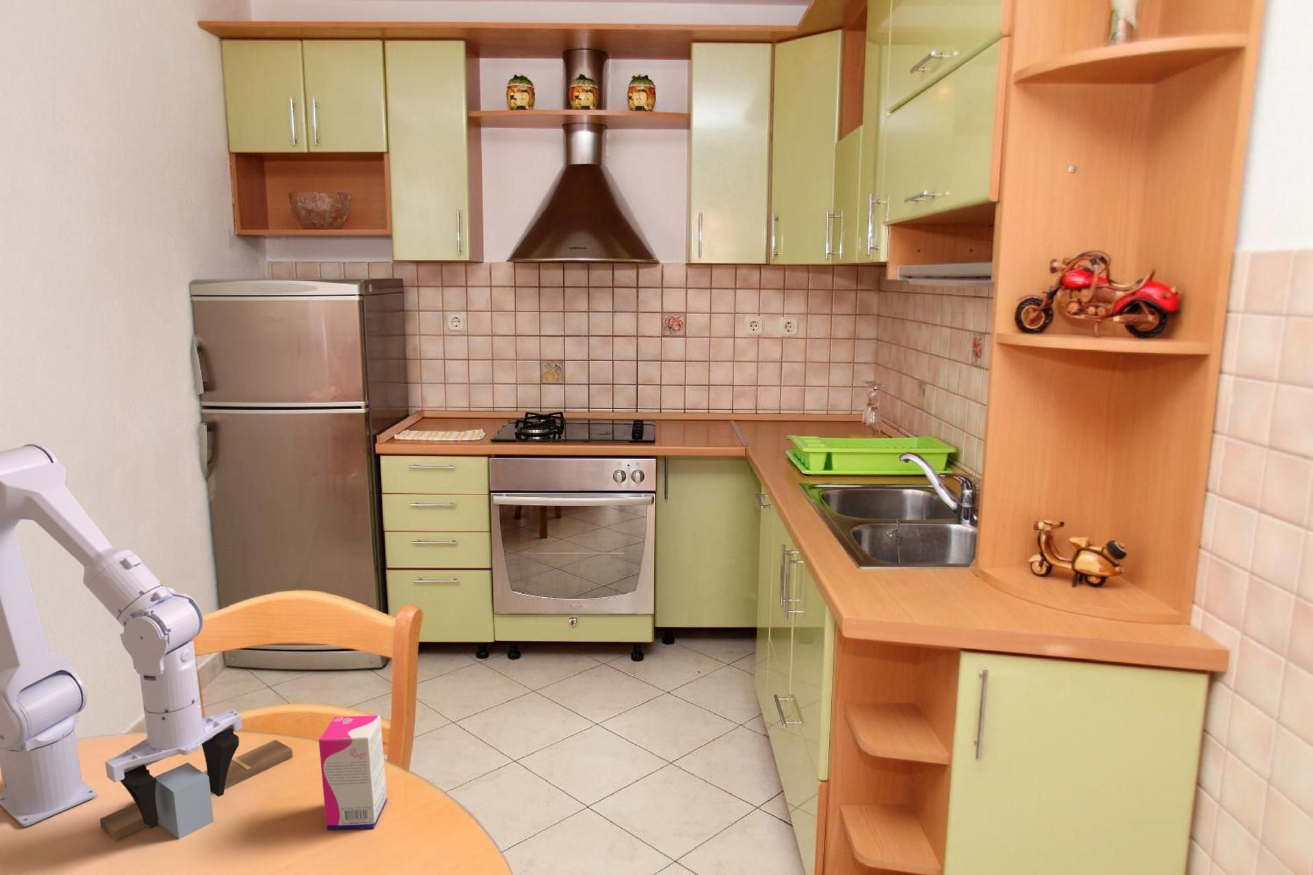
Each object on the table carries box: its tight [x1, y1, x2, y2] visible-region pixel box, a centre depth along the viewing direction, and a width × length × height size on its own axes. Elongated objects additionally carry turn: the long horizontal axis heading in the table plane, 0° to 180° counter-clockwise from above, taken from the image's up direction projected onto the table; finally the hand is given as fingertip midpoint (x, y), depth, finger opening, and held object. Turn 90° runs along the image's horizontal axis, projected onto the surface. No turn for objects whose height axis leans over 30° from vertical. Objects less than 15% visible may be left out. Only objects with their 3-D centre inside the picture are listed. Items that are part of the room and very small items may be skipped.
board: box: [99, 739, 293, 842], centre depth 112 cm, size 4×22×1 cm, turn 143°
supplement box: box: [318, 715, 388, 831], centre depth 106 cm, size 6×6×12 cm
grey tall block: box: [153, 762, 215, 840], centre depth 107 cm, size 10×4×6 cm, turn 53°
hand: (185, 808), depth 105 cm, fingers open, 7 cm apart
